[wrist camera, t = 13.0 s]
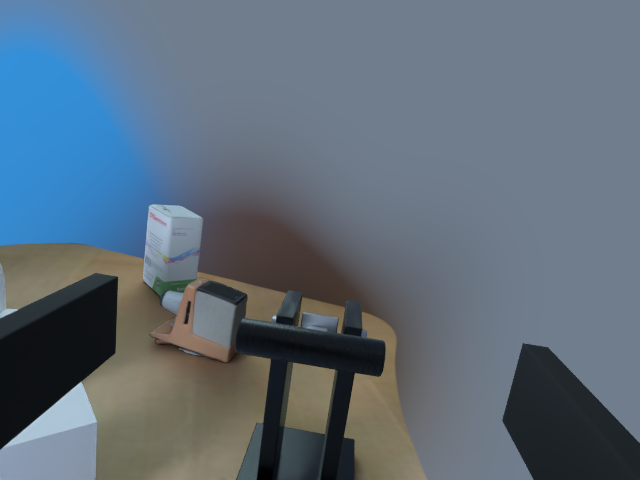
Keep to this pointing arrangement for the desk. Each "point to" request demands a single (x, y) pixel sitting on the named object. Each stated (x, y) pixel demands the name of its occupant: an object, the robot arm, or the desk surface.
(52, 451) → the white cube
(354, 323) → the black lever stand
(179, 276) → the ink box
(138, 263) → the desk surface
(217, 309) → the electronic device
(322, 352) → the lever
